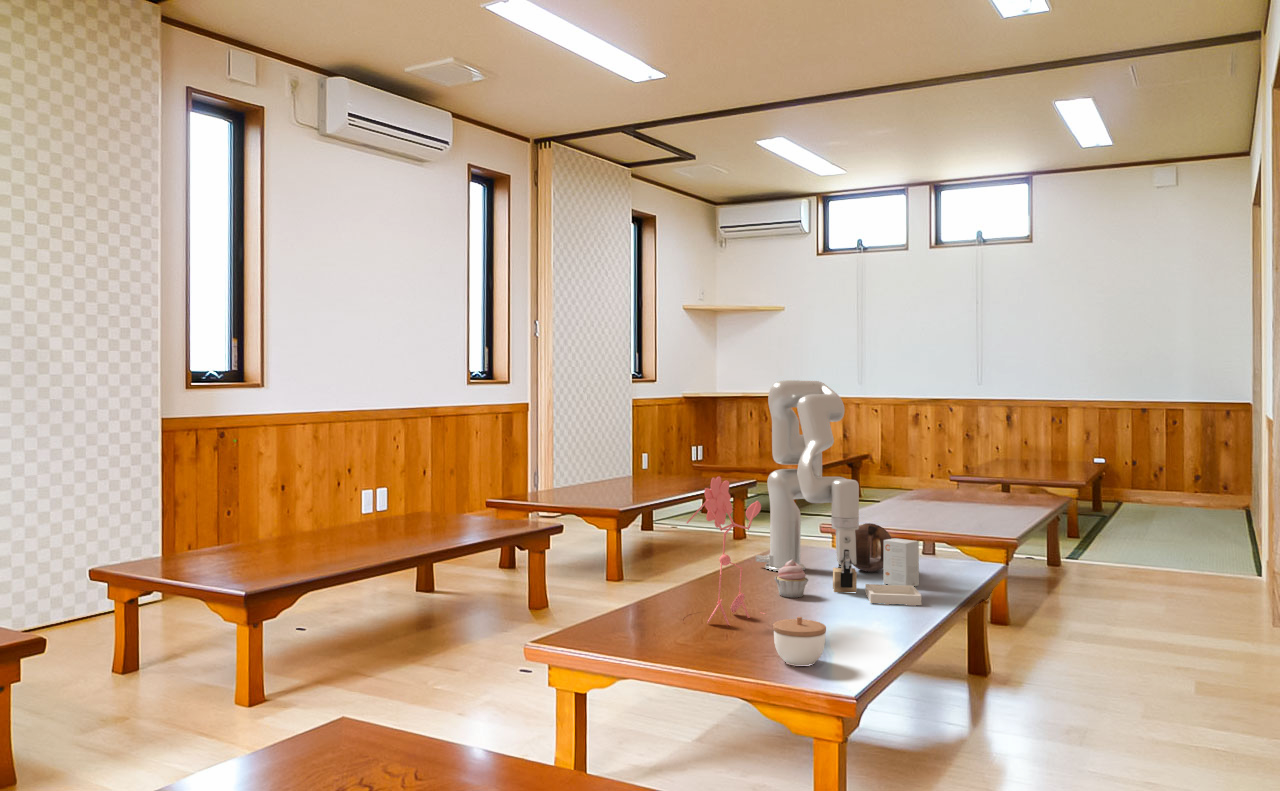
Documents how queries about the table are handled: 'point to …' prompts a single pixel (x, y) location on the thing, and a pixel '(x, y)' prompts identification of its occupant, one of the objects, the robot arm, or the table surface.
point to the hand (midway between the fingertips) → (845, 584)
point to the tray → (893, 594)
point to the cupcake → (791, 580)
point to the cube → (837, 581)
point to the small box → (901, 562)
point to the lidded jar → (799, 640)
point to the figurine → (717, 510)
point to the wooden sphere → (870, 547)
